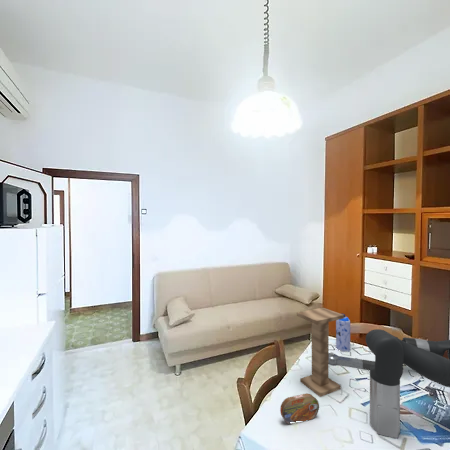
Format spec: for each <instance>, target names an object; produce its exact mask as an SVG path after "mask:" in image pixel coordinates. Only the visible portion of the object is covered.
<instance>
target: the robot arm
mask: <svg viewBox="0 0 450 450" xmlns="http://www.w3.org/2000/svg"><path fill="white" fill-rule="evenodd" d="M365 344H366V346H367V347H368V349H369V351H370V352H371V353H372V354H373V355H374V361H375V365H372V366H371V367H370V370H369V425H370V426H371V428H372V429H373V430H374V431H375V432H376V435H377V434H378V435H381V436H385V437H390V438H394V439H398V438H399V435H400V434H401V393H400V392H401V378H402V376H403V373H404V366H406V367H408V368H409V369H411V370H413V371H414V372H415V373H418V374H419V375H420V376H421V377H424V378H426V379H427V380H430V381H431V382H434V383H436V384H438V385H441V386H443V387H446V388H450V339H446V340H438V341H435V340H434V341H433V340H426V339H421V338H413V337H406V336H405V337H402V339H400V338H399V337H397V336H394V335H392V334H391V333H390V332H388V331H386V330H384V329H380V328H379V329H377V328H376V329H371V330H370V331H368V333H366V335H365ZM446 351H447V357H444V355H445V352H446Z"/></svg>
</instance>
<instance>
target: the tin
mask: <svg viewBox="0 0 450 450" xmlns="http://www.w3.org/2000/svg"><path fill="white" fill-rule="evenodd" d="M319 408H320V403H319V401H318V399H317V398H316V396H314V395H312V394H310V393H307V392H306V393H302V394H298V395H292V396H289V397H287V398H285V399H283V401H282V402H281V404H280V408H279V409H280V410H279V411H280V415H281V417H282V419H283V420H284V422H285V423H286V424H288V425H290V424H289V423H290V422H296V421H303V422H306V420H308V421H311V420H313V419H314V418H315V417H317V415H318V413H319V410H320V409H319Z"/></svg>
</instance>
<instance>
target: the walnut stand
mask: <svg viewBox="0 0 450 450" xmlns="http://www.w3.org/2000/svg"><path fill="white" fill-rule="evenodd" d="M343 314H344V313H341V312H340V313H339V312H337V311H333V310H331V309H328V308H325V307H318V308H313V309H307V310H303V311H297V312H296V317H299V318H301V319H303V320H305V321H308V322H309V323H311V374H310V375H307V376H304V377H302V378H300V379H299V380H300V381H299V382H300V383H301V384H302V385H303V386H305V387H306V388H308V390H310V391H312V392H313V393H314V394H316V395H317V396H318V397H320V398H322V397H325V396H326V395H329V394H332V393H334V392H337V391H340V390H342V387H341V386H342V385H341V384H340V383H337V382H336V381H334V380H332V379H331V378H330V376H329V366H330V365H329V353H330V352H329V343H330V342H329V337H330V336H329V331H330V329H329V323H331V322H334V321H335V322H336V320H339V319H344V315H343Z"/></svg>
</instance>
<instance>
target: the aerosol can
mask: <svg viewBox="0 0 450 450" xmlns="http://www.w3.org/2000/svg"><path fill="white" fill-rule="evenodd" d="M342 314H343V315H344V319H339V320H335V333H336V334H335V335H336V336H335V337H336V338H335V349H336V348H337V349H338V351H339V350H340V351H339V352H342V353H349V352H351V350H352V349H351V320H350V319H349V317H348V316H346V314H345V313H342ZM337 349H336V350H337Z"/></svg>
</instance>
